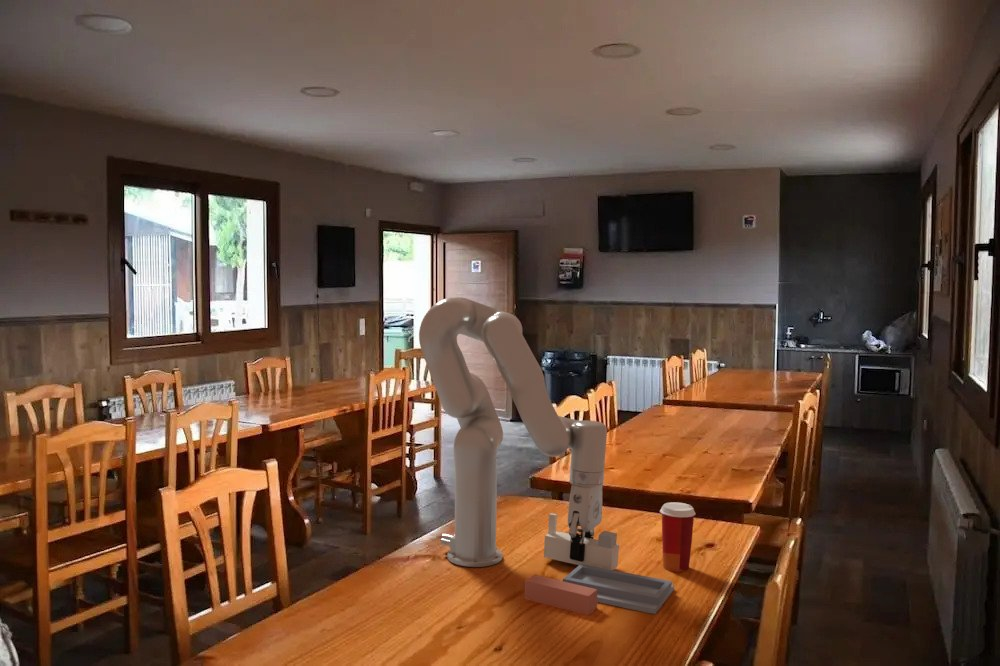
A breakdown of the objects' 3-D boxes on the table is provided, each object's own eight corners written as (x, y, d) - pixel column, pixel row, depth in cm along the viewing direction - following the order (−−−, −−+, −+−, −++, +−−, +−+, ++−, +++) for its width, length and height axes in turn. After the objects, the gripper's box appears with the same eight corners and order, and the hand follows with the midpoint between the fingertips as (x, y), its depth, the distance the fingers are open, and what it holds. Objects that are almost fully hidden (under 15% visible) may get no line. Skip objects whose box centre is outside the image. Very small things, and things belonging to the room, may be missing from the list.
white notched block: (543, 557, 181) (546, 516, 181) (551, 551, 185) (554, 511, 185) (610, 572, 174) (613, 529, 173) (617, 566, 178) (620, 524, 177)
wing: (524, 600, 161) (525, 580, 160) (534, 593, 164) (534, 574, 164) (588, 616, 153) (588, 596, 153) (596, 609, 157) (597, 589, 156)
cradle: (558, 594, 163) (559, 582, 163) (583, 572, 176) (583, 561, 175) (654, 614, 154) (655, 601, 154) (673, 589, 167) (674, 577, 166)
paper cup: (688, 561, 183) (690, 501, 183) (697, 574, 176) (699, 511, 175) (654, 561, 183) (656, 501, 182) (662, 573, 176) (664, 511, 175)
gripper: (589, 487, 169) (583, 571, 170) (615, 472, 184) (609, 549, 185) (556, 481, 172) (550, 564, 174) (584, 466, 187) (579, 543, 189)
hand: (581, 555), depth 180 cm, fingers closed on white notched block, 4 cm apart
